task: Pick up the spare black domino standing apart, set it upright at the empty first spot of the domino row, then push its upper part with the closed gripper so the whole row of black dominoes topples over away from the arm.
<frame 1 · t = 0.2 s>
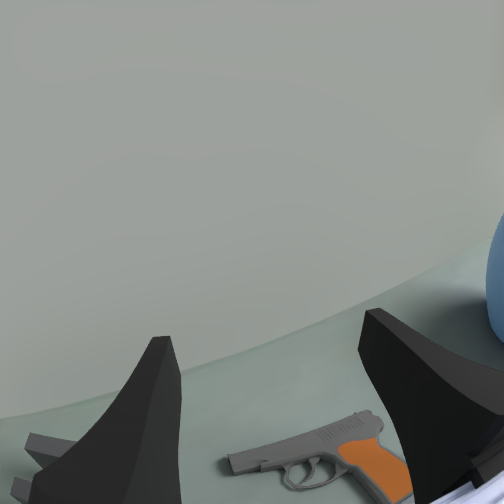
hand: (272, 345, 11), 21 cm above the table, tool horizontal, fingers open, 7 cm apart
handgun: (326, 482, 23), on the table
domino end: (86, 486, 20), on the table
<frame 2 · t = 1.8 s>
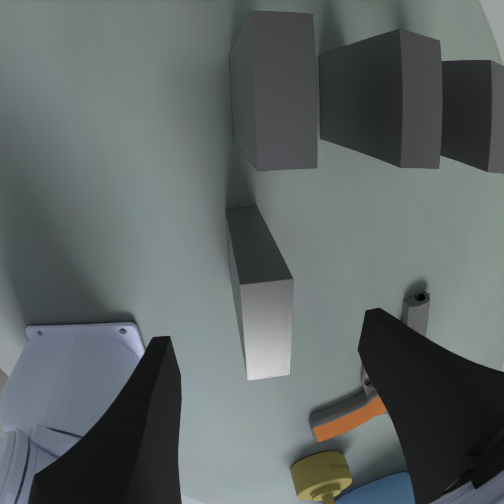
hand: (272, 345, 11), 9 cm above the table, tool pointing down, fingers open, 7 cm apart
handgun: (362, 373, 27), on the table
planter: (370, 491, 47), on the table
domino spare: (243, 246, 19), on the table
sculpture: (316, 461, 34), on the table
domino end: (405, 104, 16), on the table
domino 2: (334, 97, 16), on the table
domino 1: (248, 97, 15), on the table
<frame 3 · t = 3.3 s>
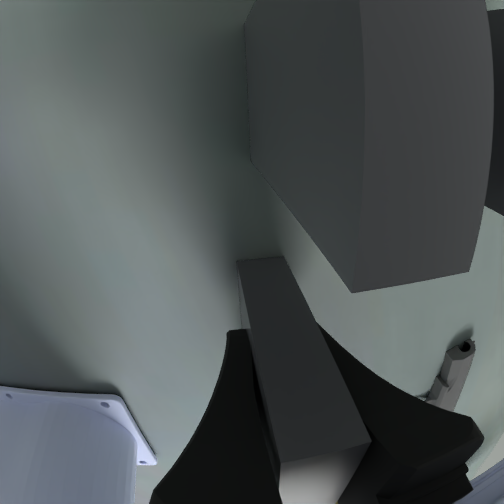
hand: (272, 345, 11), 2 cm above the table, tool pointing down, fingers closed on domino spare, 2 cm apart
handgun: (388, 424, 21), on the table
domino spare: (262, 310, 13), on the table, touching gripper
domino 2: (398, 98, 10), on the table
domino 1: (274, 90, 9), on the table
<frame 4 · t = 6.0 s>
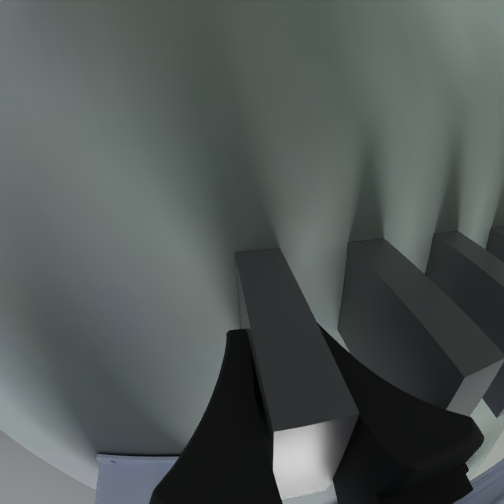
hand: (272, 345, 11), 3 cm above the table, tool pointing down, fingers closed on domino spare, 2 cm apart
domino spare: (259, 300, 14), on the table, touching gripper
domino end: (490, 263, 15), on the table
domino 2: (437, 274, 15), on the table
domino 1: (360, 287, 14), on the table
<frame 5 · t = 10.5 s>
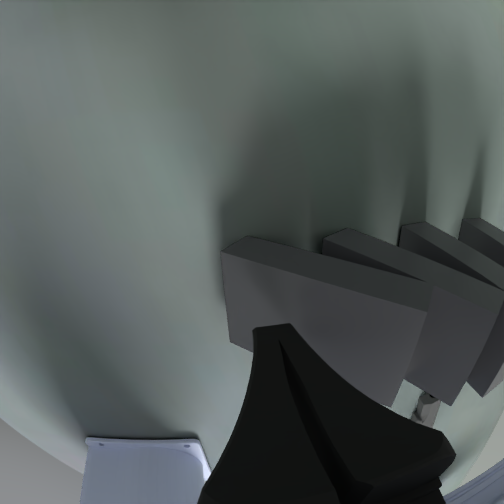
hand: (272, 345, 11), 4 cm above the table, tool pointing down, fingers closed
handgun: (379, 443, 27), on the table
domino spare: (238, 291, 14), point 1 cm above the table, tilted 47°
domino end: (463, 254, 16), on the table
domino 2: (407, 264, 16), on the table, tilted 9°
domino 1: (332, 278, 15), on the table, tilted 30°
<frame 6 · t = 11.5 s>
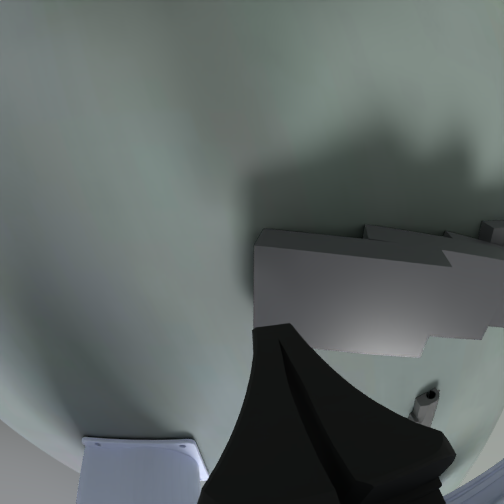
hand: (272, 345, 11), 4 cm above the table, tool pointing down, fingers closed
handgun: (376, 444, 27), on the table
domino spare: (258, 286, 14), point 1 cm above the table, tilted 68°, touching domino 1
domino end: (475, 257, 16), on the table, tilted 90°, touching domino 2
domino 2: (436, 276, 15), point 1 cm above the table, tilted 76°, touching domino 1, domino end
domino 1: (357, 277, 15), point 1 cm above the table, tilted 68°, touching domino 2, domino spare
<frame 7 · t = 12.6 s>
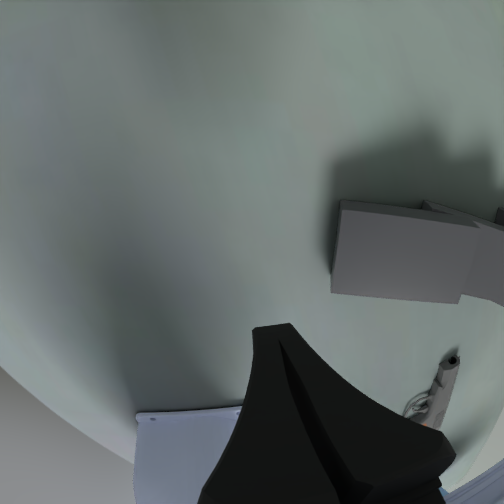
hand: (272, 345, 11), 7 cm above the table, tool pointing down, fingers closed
handgun: (402, 413, 30), on the table
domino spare: (336, 246, 17), point 1 cm above the table, tilted 70°, touching domino 1
domino end: (494, 238, 19), on the table, tilted 90°, touching domino 2
domino 1: (416, 240, 17), point 1 cm above the table, tilted 70°, touching domino 2, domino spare
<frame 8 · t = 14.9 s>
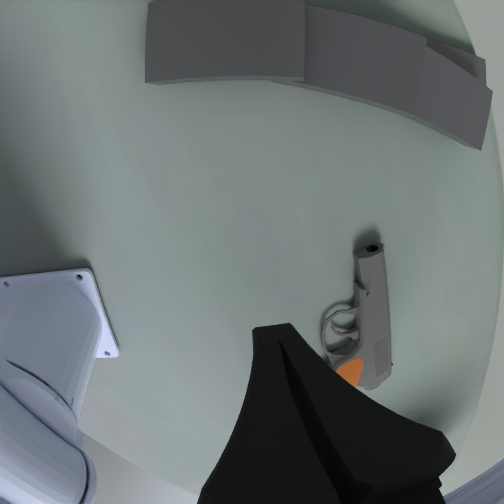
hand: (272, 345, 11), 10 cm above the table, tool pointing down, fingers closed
handgun: (324, 339, 27), on the table
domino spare: (153, 43, 14), point 1 cm above the table, tilted 73°, touching domino 1
domino end: (404, 66, 17), on the table, tilted 90°, touching domino 2
domino 2: (399, 72, 15), point 2 cm above the table, tilted 90°, touching domino 1, domino end
domino 1: (277, 41, 15), point 1 cm above the table, tilted 67°, touching domino 2, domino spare
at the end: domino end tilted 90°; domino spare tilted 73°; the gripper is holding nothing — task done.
